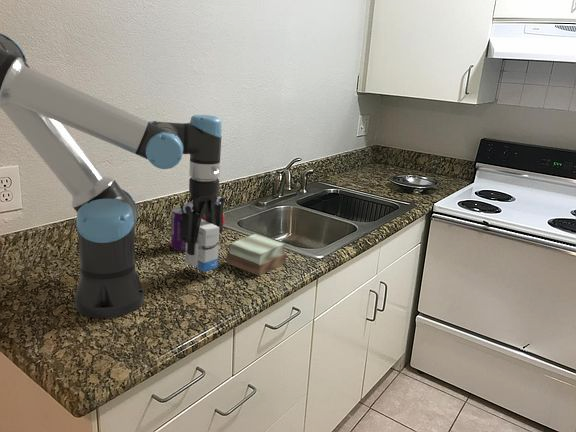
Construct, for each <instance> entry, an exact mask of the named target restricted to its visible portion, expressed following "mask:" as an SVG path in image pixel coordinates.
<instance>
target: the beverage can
mask: <svg viewBox="0 0 576 432" xmlns="http://www.w3.org/2000/svg"><path fill="white" fill-rule="evenodd" d="M181 228H182V211H181V206H178V207H174V208H173V209H172V213H171V215H170V240H171V241H170V243H171V244H170V245H171V246H170V247H171V248H172V249H175V250H177V251H179V252H180V251H181V252H182V251H183V252H184V251H185V252H186V242H184V241H181Z"/></svg>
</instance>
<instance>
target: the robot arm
mask: <svg viewBox="0 0 576 432" xmlns="http://www.w3.org/2000/svg"><path fill="white" fill-rule="evenodd" d="M0 110H2V111H3V112H4V114H5V115H6V116H7V118H9V120H10V121H11V123H13V125H14V126H15V127H16V129H17V130H18V131H19V132H20V134H21V135H22V136H23V137H24V138H25V140H26V141H27V142H28V144H30V146H31V147H32V148H33V150H35V152H36V153H37V154H38V156H39V157H40V158H41V159H42V161H43V162H44V163H45V165H47V166H48V168H49V169H50V171H52V173H53V174H54V176H55V177H56V178H57V179H58V180H59V182H60V183H61V184H62V185H63V187H64V188H65V189H66V190H67V192H68V193H69V194H70V195H71V197H72V200H71V207H72V208H73V209H74V211H75V212H76V222H75V225H76V230H77V237H78V239H77V241H78V251H79V252H78V253H79V265H80V277H79V280H78V284H77V288H76V291H75V293H74V307H75V310H76V311H77V312H78V313H79V314H80V315H83V316H85V317H88V318H91V319H93V318H94V319H111V318H119V317H122V316H125V315H129V314H131V313H133V312H135V311H136V310H138V309H140V308H141V306H143V305H144V302H145V290H144V287H143V284H142V282H141V279H140V276H139V275H138V273H137V270H136V257H135V255H136V253H135V232H136V226H137V221H138V216H139V214H138V213H139V211H138V210H139V209H138V206H137V203H136V201H135V200H134V198H133V196H132V194H131V193H129V192H127V190H125V189H122V188H121V186H120V185H119V184H118V182H117V181H116V180H115V179H114V178H113V177H110V176H105V175H103V173H102V172H101V170H100V169H99V168H98V167H97V166H96V164H95V163H94V162H93V160H92V159H91V158H90V156H89V155H88V154H87V152H86V151H85V149H83V147H82V146H81V144H80V143H79V142H78V140H77V139H76V138H75V137H74V135H73V134H72V132H71V131H70V129H68V127H70V128H72V129H74V130H77V131H79V132H82V133H83V134H86V135H89V136H92V137H93V138H97V139H98V140H101V141H104V142H105V143H108V144H110V145H113V146H115V147H118V148H121V149H123V150H124V151H127V152H129V153H132V154H135V155H137V156H139V157H141V158H143V159H145V160H148V162H149V163H150V164H151V165H152V166H153V167H156V168H157V169H160V170H168V169H172V168H174V167H176V166H177V165H178V164H179V163H180V162H181V160H182V158H183V155H189V172H188V173H189V177H190V178H189V179H188V190H189V193H190V198H189V202H188V203H186V204H181V205H180V207H181V211H182V228H181V241H184V242H186V243H187V253H188V254H189V263H188V265H190V266H193V267H194V268H196V267H197V266H198V244H199V243H197V242H196V240H197V236H198V232H199V227H200V223H201V219H202V218H203V217H204V214H205V218H206V221H207V222H209V223H211V224H214V225H216V226H218V227H219V237H220V236H221V235H220V234H222V233H223V231H224V230H223V229H224V225H223V213H224V206H225V202H226V199H225V197H221V196H219V195H218V194H219V193H220V180H219V178H220V172H221V168H220V167H221V149H222V137H223V136H222V120H221V118H219V117H218V116H214V115H209V114H195V115H191V118H190V121H189V122H185V123H184V122H183V123H182V122H181V123H180V122H170V121H169V122H167V121H157V120H152V121H150V120H149V121H148V120H145V119H144V118H141V117H139V116H137V115H134V114H133V113H130V112H128V111H126V110H124V109H121V108H120V107H117V106H115V105H113V104H110V103H108V102H107V101H106V102H105V101H103V100H101V99H100V98H97V97H95V96H92V95H91V94H88V93H85V92H84V91H81V90H79V89H77V88H75V87H72V86H70V85H68V84H66V83H64V82H61V81H59V80H57V79H55V78H53V77H50V76H48V75H46V74H43V73H42V72H40V71H37V70H35V69H33V68H31V67H30V66H29V64H28V63H27V58H26V55H25V53H24V51H23V50H22V48H21V46H20V45H19V44H18V43H17V42H16V41H15V40H13V38H11V37H9V36H8V35H5V34H4V33H1V32H0ZM191 237H192V238H191Z"/></svg>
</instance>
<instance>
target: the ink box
mask: <svg viewBox="0 0 576 432" xmlns="http://www.w3.org/2000/svg"><path fill="white" fill-rule="evenodd" d="M219 234H220V233H219V227H218V226H216V225H214V224H211V223H209V222H207V221H205V220H203V219H201V223H200V227H199V232H198V236H197V240H196V242H197V243H199V244H198V266H197V267H195V268H196V269H198V270H200V271H202V272H203V273H205V272H209V271H212V270H215V269H218V266H219V250H220V249H219V246H220V245H219V244H220V242H219V241H220V236H219ZM191 238H192V237H191ZM184 253H185V256H184V257H185V258H184V259H185V260H184V261H185V263H187V264H189V254H188V253H187V243H186V251H185V252H184Z"/></svg>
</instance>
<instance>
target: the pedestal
mask: <svg viewBox="0 0 576 432" xmlns="http://www.w3.org/2000/svg"><path fill="white" fill-rule="evenodd" d="M286 261H287V253H286V252H285V243H284V242H281V241H277V240H274V239H271V238H268V237H266V236H263V235H260V234H257V233H254V234H251V235H249V236H246V237H244V238H240V239H237V240H235V241H232V242H230V243H229V252H227V253H226V264H228V265H231V266H233V267H236V268H239V269H240V270H243V271H245V272H248V273H250V274H253V275H256V276H258V277H259V276H260V277H261V276H262V275H265V274H266V273H268V272H270V271H272V270H274V269H277V268H278V267H280V266H282V265H284V263H285V264H286Z"/></svg>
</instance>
